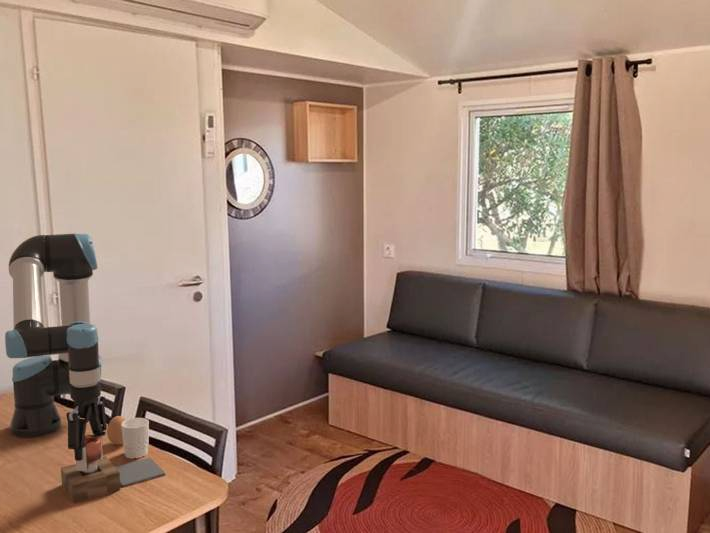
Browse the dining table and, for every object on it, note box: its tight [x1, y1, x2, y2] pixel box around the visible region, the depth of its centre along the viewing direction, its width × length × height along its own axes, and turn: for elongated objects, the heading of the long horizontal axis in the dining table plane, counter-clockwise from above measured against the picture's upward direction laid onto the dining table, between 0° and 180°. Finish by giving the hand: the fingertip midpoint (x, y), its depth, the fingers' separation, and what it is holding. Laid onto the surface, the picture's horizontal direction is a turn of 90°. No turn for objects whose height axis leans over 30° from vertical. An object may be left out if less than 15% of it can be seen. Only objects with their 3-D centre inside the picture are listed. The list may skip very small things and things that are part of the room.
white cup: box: [121, 417, 150, 459], centre depth 200 cm, size 8×8×10 cm
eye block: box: [60, 455, 121, 504], centre depth 180 cm, size 12×12×5 cm
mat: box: [115, 457, 166, 488], centre depth 189 cm, size 12×12×1 cm
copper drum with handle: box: [82, 434, 103, 476], centre depth 179 cm, size 6×6×14 cm
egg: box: [106, 415, 126, 446], centre depth 206 cm, size 7×7×9 cm
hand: (89, 464), depth 179 cm, fingers closed on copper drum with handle, 6 cm apart
